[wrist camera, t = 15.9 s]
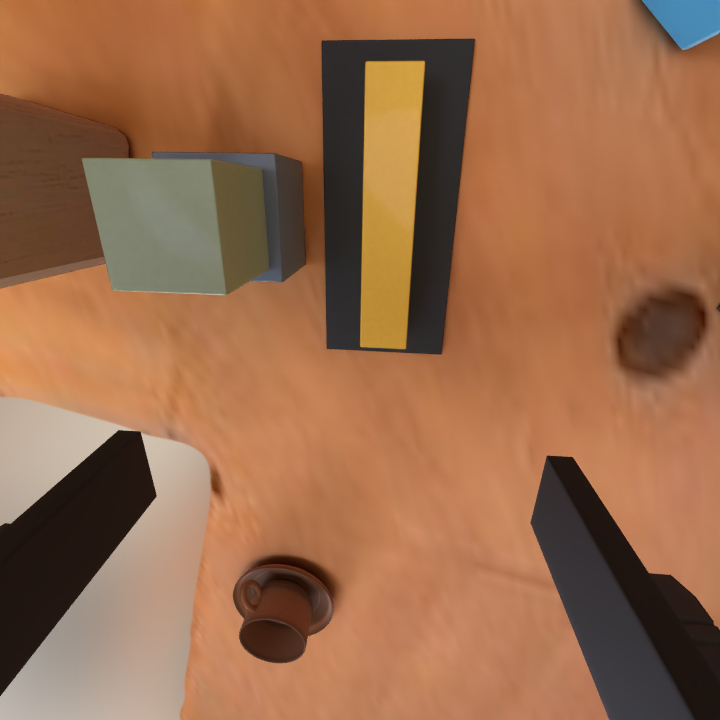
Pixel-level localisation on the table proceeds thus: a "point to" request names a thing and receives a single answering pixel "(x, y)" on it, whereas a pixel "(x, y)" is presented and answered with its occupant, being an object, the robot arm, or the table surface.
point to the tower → (198, 220)
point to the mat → (434, 183)
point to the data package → (687, 19)
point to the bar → (389, 198)
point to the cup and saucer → (280, 611)
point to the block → (48, 190)
